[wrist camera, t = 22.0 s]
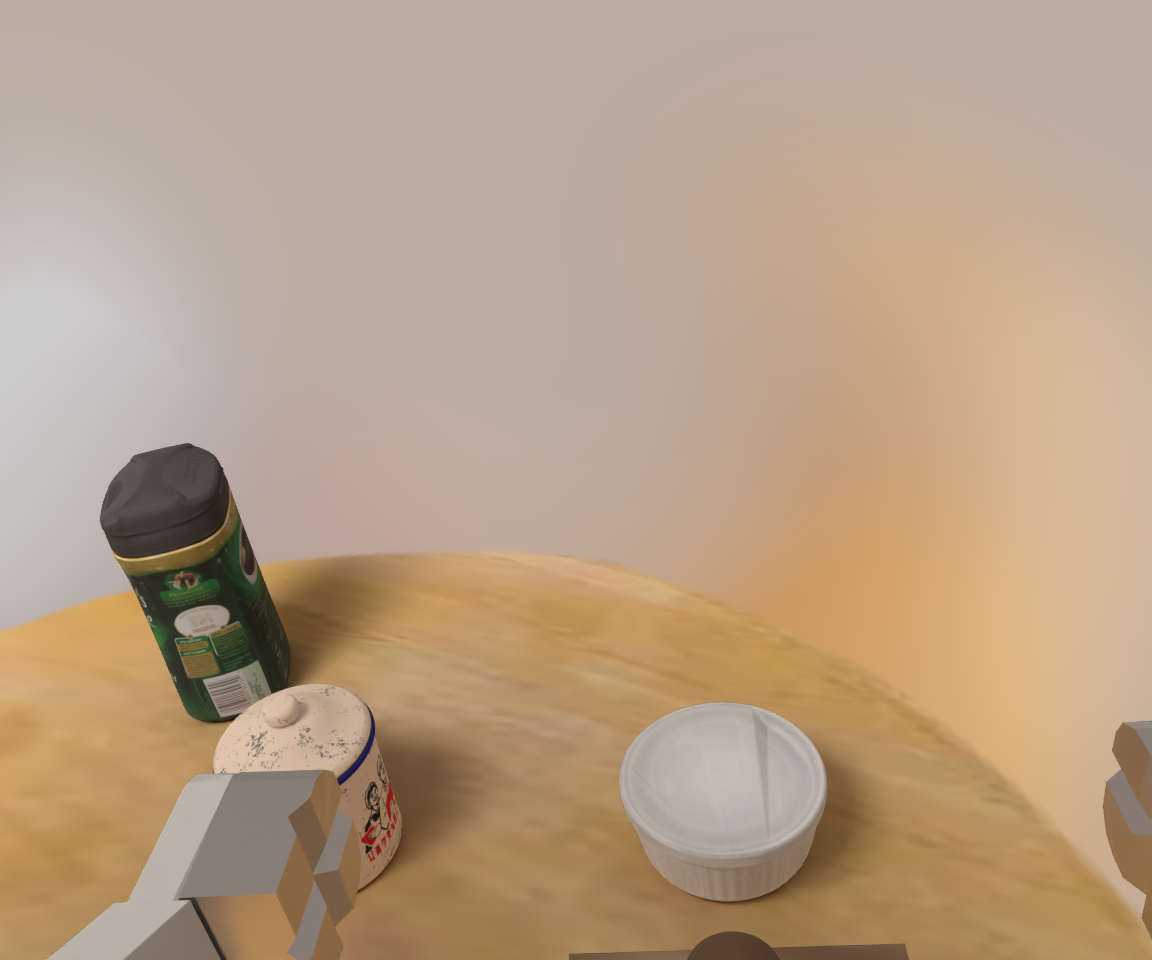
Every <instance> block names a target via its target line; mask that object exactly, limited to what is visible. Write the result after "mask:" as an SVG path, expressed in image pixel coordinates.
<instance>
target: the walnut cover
mask: <svg viewBox="0 0 1152 960" xmlns="http://www.w3.org/2000/svg"><path fill="white" fill-rule="evenodd" d="M569 960H909V959H908V955H907V950H906V946H905V944H879V945H847V946H814V947H781V948H771V947H770V946H769V945H768V944H766V943H765V942H764V941H762V940H761V939H759V938H757V937H755V936H752V935H750V934H746V933H742V932H722V933H718V934H715V935H712V936H710V937H708V938H706V939H704V940H703V941H701V942H700V943H699V944H698V945H697V946H696V947H695V948H694V949H693V950H682V951H649V952H616V953H584V954H569Z"/></svg>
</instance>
